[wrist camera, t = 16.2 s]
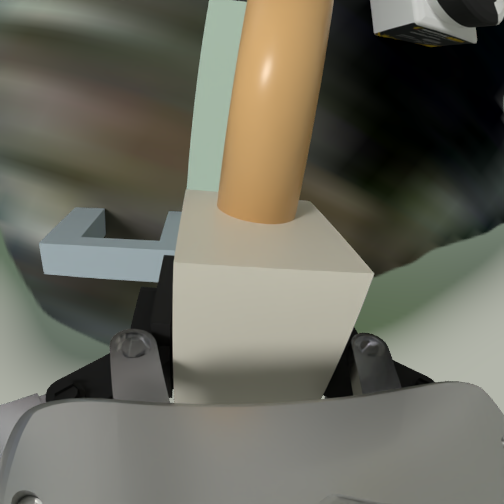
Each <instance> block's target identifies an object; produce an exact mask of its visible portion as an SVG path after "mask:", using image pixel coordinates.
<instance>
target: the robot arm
mask: <svg viewBox="0 0 504 504" xmlns="http://www.w3.org/2000/svg"><path fill="white" fill-rule="evenodd" d="M173 264H174V256H173V255H164V256H163V261H162V266H161V271H160V275H159V280H158V286H157V288H151V287H141V289H140V293H139V296H138V300H137V304H136V308H135V312H134V316H133V320H132V324H131V329H127V330H123V331H121V332H118V333H117V334H116V335H114V336H113V338H112V339H111V341H110V353H109V354H107V355H105V356H104V357H102V358H100V359H98V360H96V361H94V362H92V363H90V364H88V365H86V366H84V367H82V368H81V369H79V370H77V371H75V372H73V373H71V374H69V375H67V376H65V377H63V378H61V379H59V380H57V381H56V382H54V383H53V384H52V385H51V386H50V387H49V388H48V389H47V393H46V394H45V395H42V396H38V394H37V393H36V394H33V395H30V396H27V397H24V398H21V399H18V400H15V401H12V402H9V403H6V404H2V405H0V504H504V415H503V413H502V412H501V410H500V409H499V408H498V406H497V405H496V404H495V402H494V401H493V400H492V399H491V398H490V396H489V395H488V394H487V393H486V392H485V391H484V390H483V389H481V388H480V387H478V386H476V385H473V384H470V383H465V382H458V381H445V382H434V381H433V380H432V379H430V378H429V377H427V376H425V375H423V374H421V373H419V372H416V371H414V370H412V369H410V368H408V367H406V366H404V365H402V364H400V363H398V362H395V361H394V360H392V357H391V354H390V351H389V348H388V346H387V344H386V343H385V342H384V341H383V340H382V339H380V338H379V337H378V336H375V335H373V334H369V333H359V334H358V333H357V331H356V330H355V328H354V327H353V330H352V332H351V335H350V337H349V339H348V342H347V344H346V346H345V349H344V351H343V353H342V355H341V358H340V360H339V362H338V364H337V366H336V369H335V371H334V373H333V375H332V377H331V379H330V381H329V383H328V386H327V388H326V390H325V392H324V394H323V395H324V396H325V399H319V400H309V401H296V402H281V403H260V404H185V403H170V401H169V398H172V389H174V380H173Z"/></svg>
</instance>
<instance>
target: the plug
mask: <svg viewBox="0 0 504 504" xmlns="http://www.w3.org/2000/svg"><path fill="white" fill-rule="evenodd" d="M333 2H334V0H247V5H246V10H245V16H244V21H243V27H242V33H241V39H240V45H239V51H238V57H237V63H236V69H235V75H234V82H233V88H232V95H231V101H230V108H229V115H228V122H227V129H226V137H225V144H224V152H223V159H222V167H221V175H220V183H219V191H218V192H214V191H202V190H189V189H186V192H185V197H184V203H183V208H182V214H181V219H180V225H179V231H178V237H177V243H176V250H175V256H174V264H173V380H174V403H185V404H260V403H281V402H296V401H309V400H319V399H321V398H322V396H323V394H324V392H325V390H326V388H327V386H328V383H329V381H330V379H331V377H332V375H333V373H334V371H335V369H336V366H337V364H338V362H339V360H340V358H341V355H342V353H343V351H344V349H345V346H346V344H347V342H348V339H349V337H350V335H351V332H352V330H353V327H354V325H355V323H356V320H357V318H358V315H359V313H360V310H361V307H362V305H363V303H364V300H365V297H366V295H367V292H368V289H369V287H370V284H371V281H372V279H373V276H374V273H373V271H372V270H371V269H370V268H369V267H368V266H367V264H366V263H365V262H364V261H363V260H362V259H361V257H360V256H359V255H358V254H357V253H356V252H355V250H354V249H353V248H352V247H351V246H350V245H349V244H348V243H347V241H346V240H345V239H344V238H343V237H342V236H341V235H340V234H339V232H338V231H337V230H336V229H335V228H334V227H333V226H332V225H331V224H330V222H329V221H328V220H327V219H326V218H325V217H324V216H323V215H322V214H321V213H320V212H319V210H318V209H317V208H316V207H315V206H314V205H313V204H312V203H311V202H309V201H301V200H299V196H300V192H301V187H302V182H303V177H304V172H305V166H306V161H307V156H308V151H309V146H310V140H311V135H312V130H313V124H314V119H315V113H316V108H317V102H318V96H319V91H320V85H321V79H322V73H323V67H324V61H325V55H326V48H327V42H328V36H329V29H330V23H331V16H332V9H333Z"/></svg>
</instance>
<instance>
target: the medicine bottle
mask: <svg viewBox="0 0 504 504" xmlns="http://www.w3.org/2000/svg"><path fill="white" fill-rule="evenodd" d="M370 4H371V12H372V20H373V30H374V34H375V35H377V36H382V37H388V38H393V39H398V40H403V41H408V42H412V43H417V44H421V45H425V46H429V47H436V46H446V45H457V44H473V43H476V42H477V35H476V27H484V26H495V25H498V24H500V23H501V21H502V20H503V17H504V0H370Z"/></svg>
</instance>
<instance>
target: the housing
mask: <svg viewBox="0 0 504 504" xmlns="http://www.w3.org/2000/svg"><path fill="white" fill-rule="evenodd" d="M181 214H182V212H175V211H169V212H168V216H167V219H166V222H165V225H164V229H163V232H162V235H161V239H160V241H152V240H132V239H112V238H104V236H105V235H106V228H105V208H74V209H73V210H72V211H71V212H70V213H69V214H68V215H67V216H66V217H65V218H64V219H63V220H62V221H61V222H60V223H59V224H58V225H57V226H56V227H55V228H54V229H53V230H52V231H51V232H50V233H49V234H48V235H47V236H46V237H45V238H44V239H43V240H42V241H41V242H40V243H39V247H40V253H41V259H42V264H43V270H44V274H51V275H63V276H75V277H88V278H101V279H116V280H131V281H147V282H158V280H159V275H160V271H161V266H162V261H163V256H164V255H173V256H175V250H176V243H177V237H178V231H179V225H180V219H181Z"/></svg>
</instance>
